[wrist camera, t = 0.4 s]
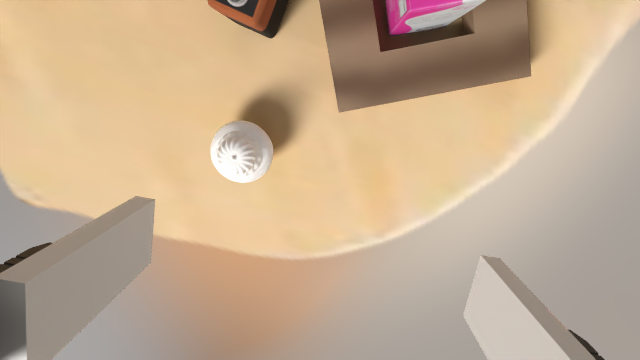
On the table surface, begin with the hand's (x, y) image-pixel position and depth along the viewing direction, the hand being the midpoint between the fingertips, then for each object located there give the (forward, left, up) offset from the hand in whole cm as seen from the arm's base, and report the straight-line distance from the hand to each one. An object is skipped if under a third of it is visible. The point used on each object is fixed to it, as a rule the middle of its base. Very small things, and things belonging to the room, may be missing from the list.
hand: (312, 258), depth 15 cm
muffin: (-2, -8, -27) cm, 28 cm away
